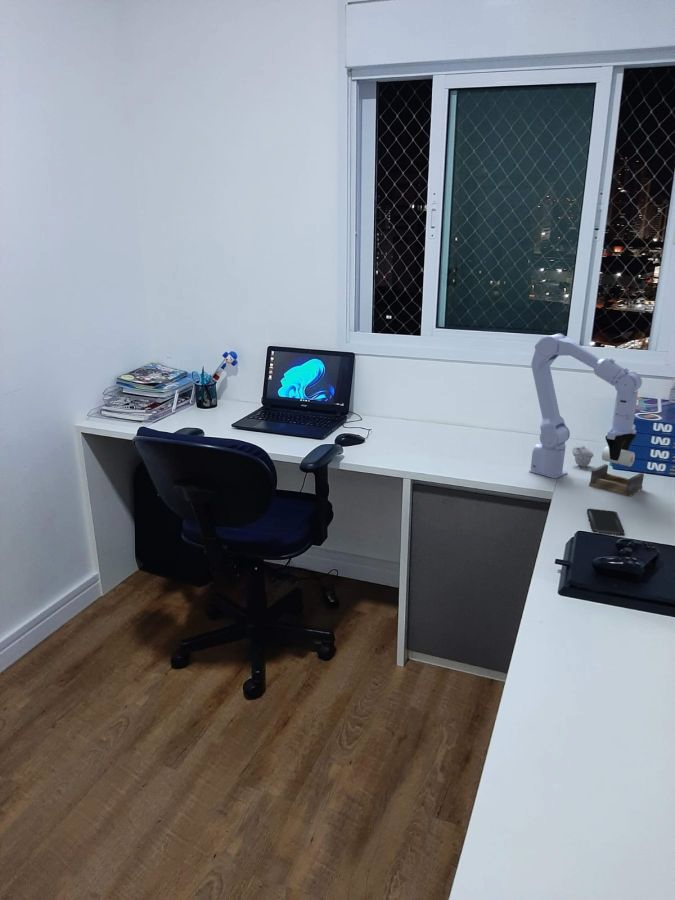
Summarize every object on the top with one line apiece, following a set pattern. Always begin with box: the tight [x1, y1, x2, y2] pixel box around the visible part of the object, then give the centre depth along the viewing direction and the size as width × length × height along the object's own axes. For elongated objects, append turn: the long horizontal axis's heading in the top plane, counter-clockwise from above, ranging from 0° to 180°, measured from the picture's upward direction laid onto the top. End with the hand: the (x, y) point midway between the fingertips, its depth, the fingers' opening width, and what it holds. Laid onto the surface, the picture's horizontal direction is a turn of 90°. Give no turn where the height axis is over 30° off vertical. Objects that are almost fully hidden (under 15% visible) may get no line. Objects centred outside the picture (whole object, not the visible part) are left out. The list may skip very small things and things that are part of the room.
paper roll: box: [601, 445, 636, 467], centre depth 199 cm, size 8×4×4 cm, turn 44°
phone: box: [586, 508, 625, 536], centre depth 176 cm, size 8×1×15 cm
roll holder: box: [588, 464, 645, 497], centre depth 202 cm, size 12×9×5 cm
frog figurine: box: [572, 444, 594, 467], centre depth 221 cm, size 6×7×7 cm
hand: (617, 458), depth 199 cm, fingers closed on paper roll, 4 cm apart
